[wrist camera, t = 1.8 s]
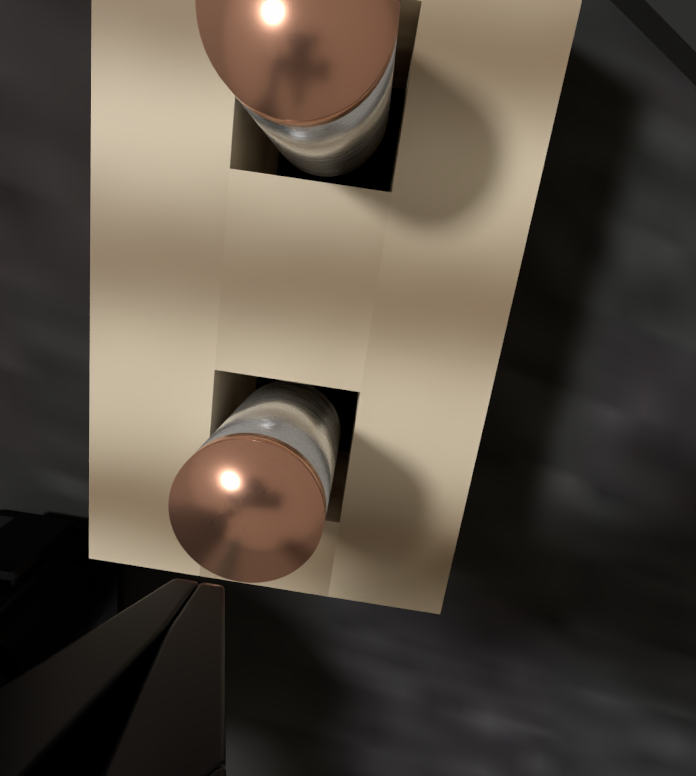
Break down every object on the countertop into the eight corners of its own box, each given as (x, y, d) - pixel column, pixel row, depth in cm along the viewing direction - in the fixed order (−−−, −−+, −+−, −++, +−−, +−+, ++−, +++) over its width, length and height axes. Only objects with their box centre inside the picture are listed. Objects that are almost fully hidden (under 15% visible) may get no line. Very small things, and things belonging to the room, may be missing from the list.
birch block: (422, 521, 22) (440, 614, 16) (164, 480, 22) (88, 558, 16) (526, 16, 17) (609, -119, 11) (189, -32, 17) (92, -190, 11)
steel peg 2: (333, 485, 17) (313, 593, 11) (233, 469, 17) (164, 569, 11) (348, 388, 16) (334, 454, 10) (241, 372, 16) (172, 429, 10)
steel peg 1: (378, 184, 14) (381, 133, 9) (260, 167, 14) (189, 104, 9) (399, 48, 13) (417, -107, 8) (272, 30, 13) (202, -137, 8)
